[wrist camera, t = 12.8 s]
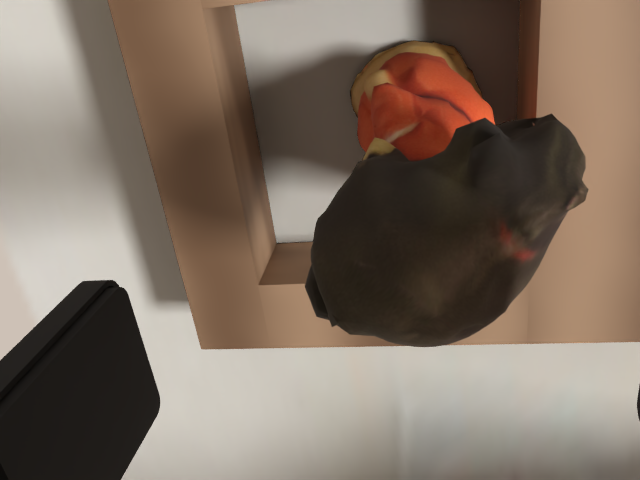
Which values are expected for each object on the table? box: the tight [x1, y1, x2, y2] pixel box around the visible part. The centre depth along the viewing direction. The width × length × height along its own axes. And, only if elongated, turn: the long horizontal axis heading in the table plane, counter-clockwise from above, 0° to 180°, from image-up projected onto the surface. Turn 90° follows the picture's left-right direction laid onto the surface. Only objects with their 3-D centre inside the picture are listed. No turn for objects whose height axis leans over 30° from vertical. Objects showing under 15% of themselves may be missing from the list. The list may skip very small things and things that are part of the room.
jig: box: [108, 0, 640, 349], centre depth 20 cm, size 23×16×4 cm
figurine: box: [305, 40, 589, 347], centre depth 17 cm, size 6×6×12 cm
